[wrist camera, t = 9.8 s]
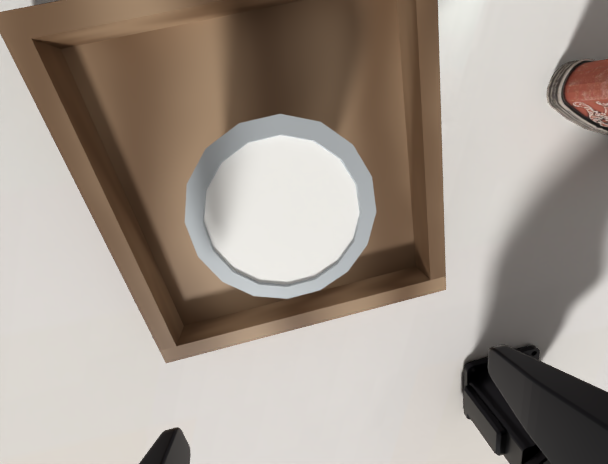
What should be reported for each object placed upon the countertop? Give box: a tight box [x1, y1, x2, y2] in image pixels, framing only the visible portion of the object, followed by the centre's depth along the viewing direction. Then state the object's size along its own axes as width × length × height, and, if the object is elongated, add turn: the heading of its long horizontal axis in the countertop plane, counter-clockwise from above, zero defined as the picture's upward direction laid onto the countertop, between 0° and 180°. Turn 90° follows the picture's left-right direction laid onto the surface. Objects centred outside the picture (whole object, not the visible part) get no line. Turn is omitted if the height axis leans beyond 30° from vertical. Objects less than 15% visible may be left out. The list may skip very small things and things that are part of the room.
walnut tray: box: [0, 0, 446, 363], centre depth 16 cm, size 18×18×2 cm
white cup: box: [185, 114, 376, 299], centre depth 14 cm, size 7×7×7 cm
